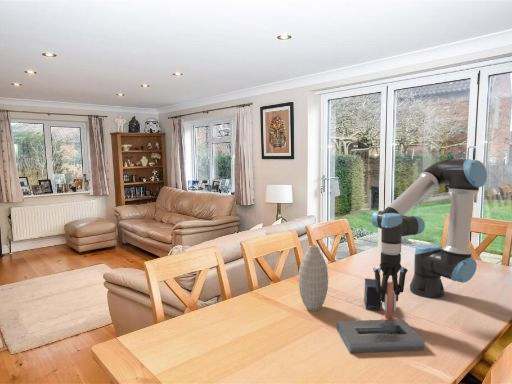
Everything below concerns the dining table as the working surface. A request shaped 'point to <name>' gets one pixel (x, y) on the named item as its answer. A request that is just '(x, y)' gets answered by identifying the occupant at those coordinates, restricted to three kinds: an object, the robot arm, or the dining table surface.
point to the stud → (389, 302)
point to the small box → (371, 295)
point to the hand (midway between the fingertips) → (388, 308)
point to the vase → (313, 279)
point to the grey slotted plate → (379, 336)
